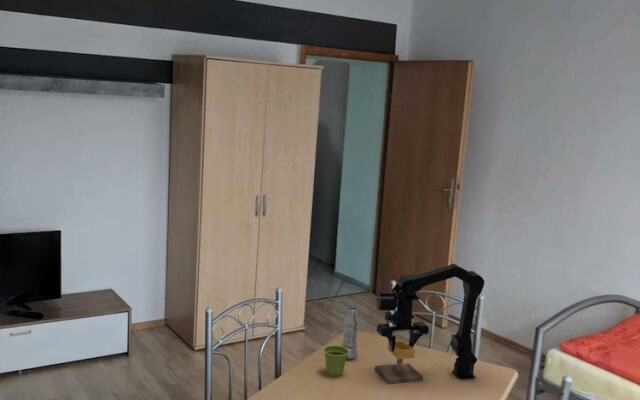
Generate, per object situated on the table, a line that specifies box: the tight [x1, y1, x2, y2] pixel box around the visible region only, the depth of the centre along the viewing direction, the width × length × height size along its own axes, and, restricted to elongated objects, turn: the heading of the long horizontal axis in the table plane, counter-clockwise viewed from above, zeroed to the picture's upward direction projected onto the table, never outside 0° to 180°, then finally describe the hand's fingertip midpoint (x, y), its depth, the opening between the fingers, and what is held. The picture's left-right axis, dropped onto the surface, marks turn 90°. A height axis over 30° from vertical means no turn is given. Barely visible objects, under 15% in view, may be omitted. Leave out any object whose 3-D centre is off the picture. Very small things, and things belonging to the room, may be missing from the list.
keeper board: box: [374, 358, 424, 385], centre depth 244 cm, size 14×12×7 cm
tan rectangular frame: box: [387, 340, 416, 360], centre depth 243 cm, size 7×9×3 cm
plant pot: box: [323, 345, 349, 377], centre depth 242 cm, size 9×9×9 cm
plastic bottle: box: [341, 306, 361, 360], centre depth 255 cm, size 6×7×20 cm
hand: (401, 351), depth 243 cm, fingers closed on tan rectangular frame, 7 cm apart
